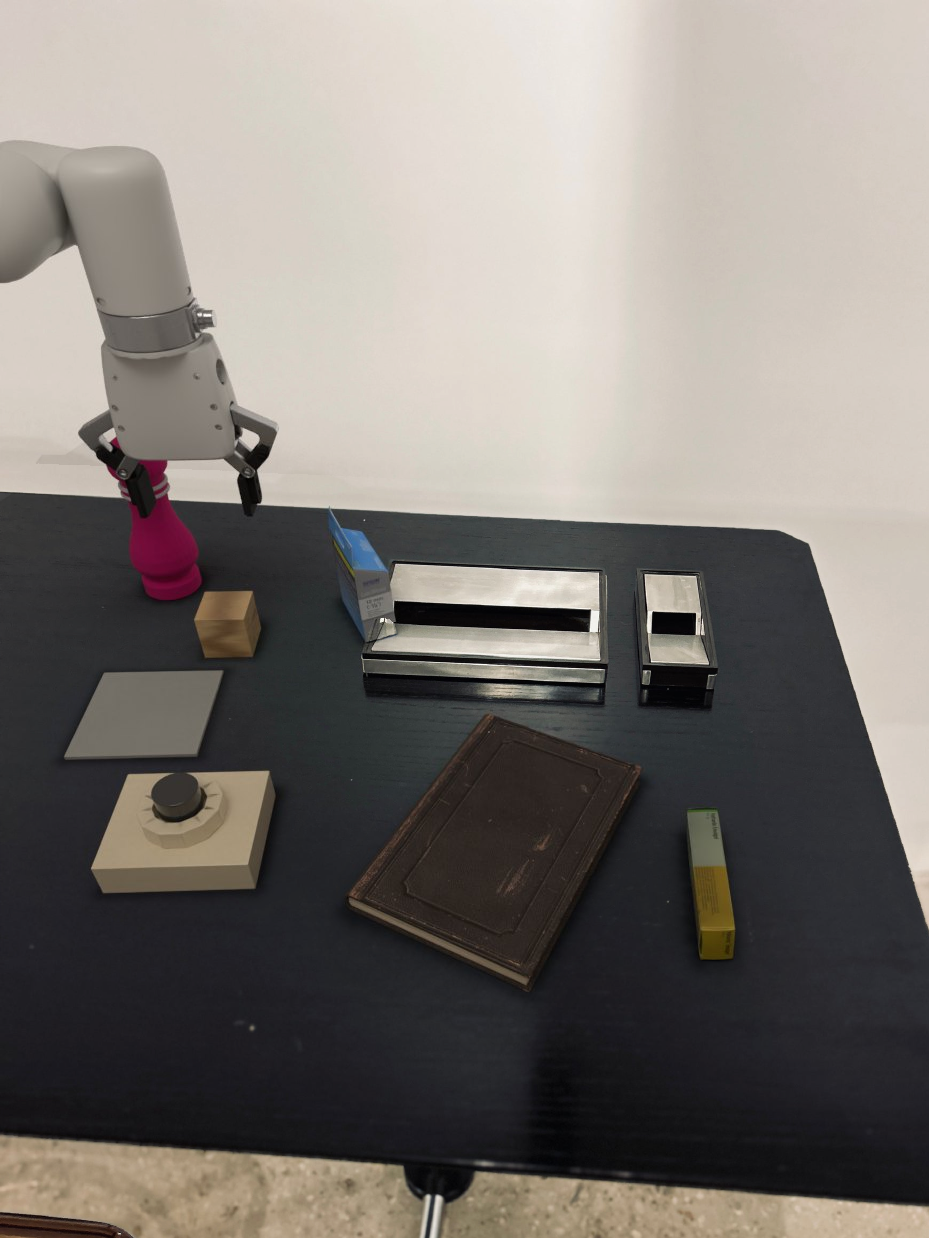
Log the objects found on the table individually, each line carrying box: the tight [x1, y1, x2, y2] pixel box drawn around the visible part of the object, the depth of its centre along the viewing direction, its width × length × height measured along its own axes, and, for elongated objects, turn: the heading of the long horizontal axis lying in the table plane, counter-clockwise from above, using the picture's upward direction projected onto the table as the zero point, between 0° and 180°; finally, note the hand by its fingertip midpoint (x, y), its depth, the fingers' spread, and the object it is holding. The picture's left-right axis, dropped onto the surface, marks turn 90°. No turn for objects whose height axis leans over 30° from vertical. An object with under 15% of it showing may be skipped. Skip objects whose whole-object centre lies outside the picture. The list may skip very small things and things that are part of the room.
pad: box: [63, 669, 225, 761], centre depth 85 cm, size 12×12×1 cm
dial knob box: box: [90, 770, 277, 894], centre depth 72 cm, size 12×10×5 cm
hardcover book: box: [344, 713, 643, 994], centre depth 73 cm, size 16×23×2 cm
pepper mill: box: [105, 436, 202, 601], centre depth 95 cm, size 7×7×20 cm
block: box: [193, 590, 262, 659], centre depth 92 cm, size 5×5×5 cm
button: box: [151, 772, 204, 823], centre depth 70 cm, size 4×4×2 cm
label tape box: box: [328, 505, 396, 643], centre depth 93 cm, size 9×4×12 cm, turn 25°
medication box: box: [685, 806, 736, 961], centre depth 69 cm, size 12×3×4 cm, turn 177°
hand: (200, 510), depth 83 cm, fingers open, 9 cm apart
